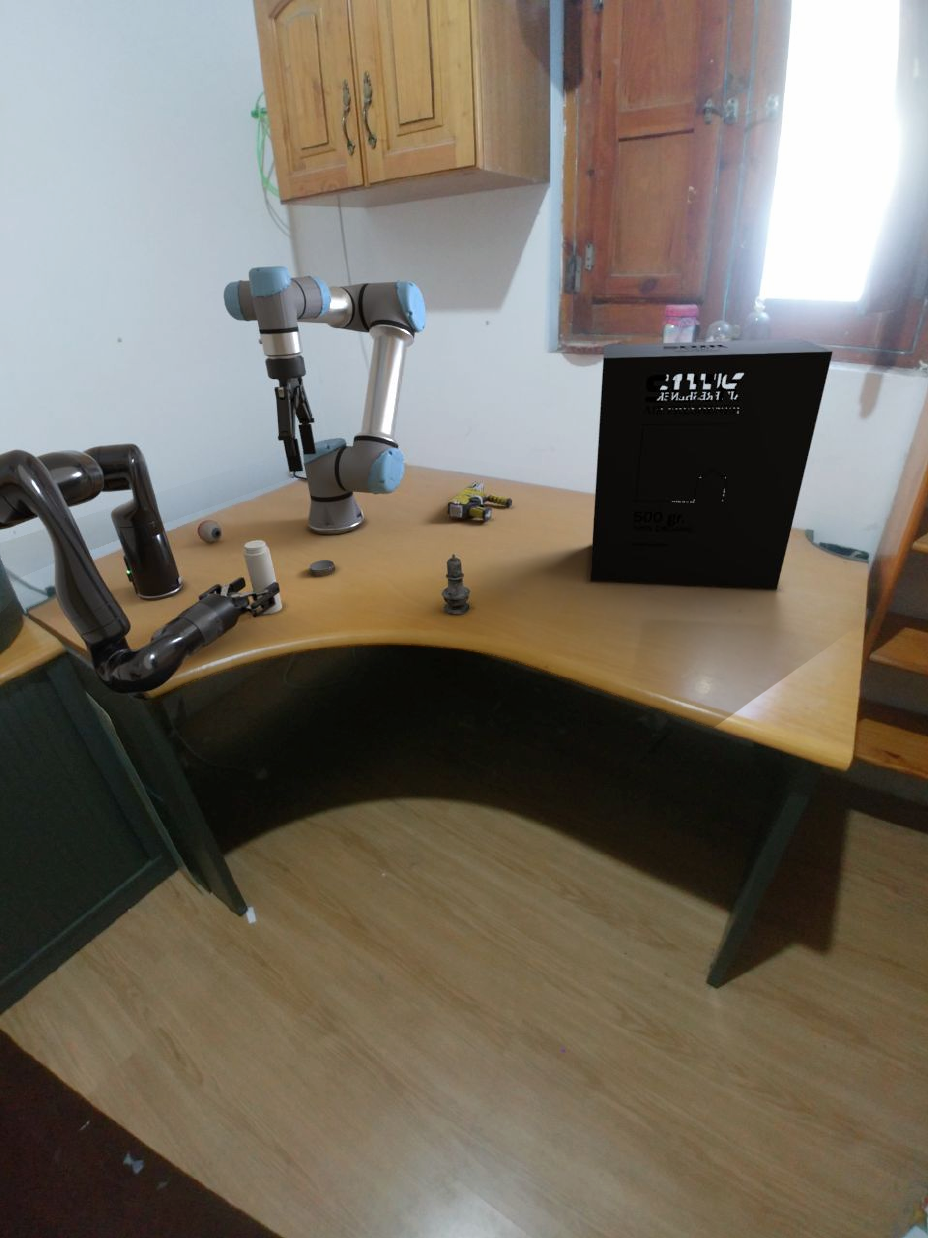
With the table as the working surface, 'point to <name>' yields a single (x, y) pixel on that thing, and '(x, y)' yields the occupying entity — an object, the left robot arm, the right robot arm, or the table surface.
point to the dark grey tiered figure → (455, 588)
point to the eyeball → (209, 531)
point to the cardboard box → (703, 460)
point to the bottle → (261, 570)
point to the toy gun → (474, 503)
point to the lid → (322, 568)
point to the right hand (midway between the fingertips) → (303, 462)
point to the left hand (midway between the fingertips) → (260, 583)
